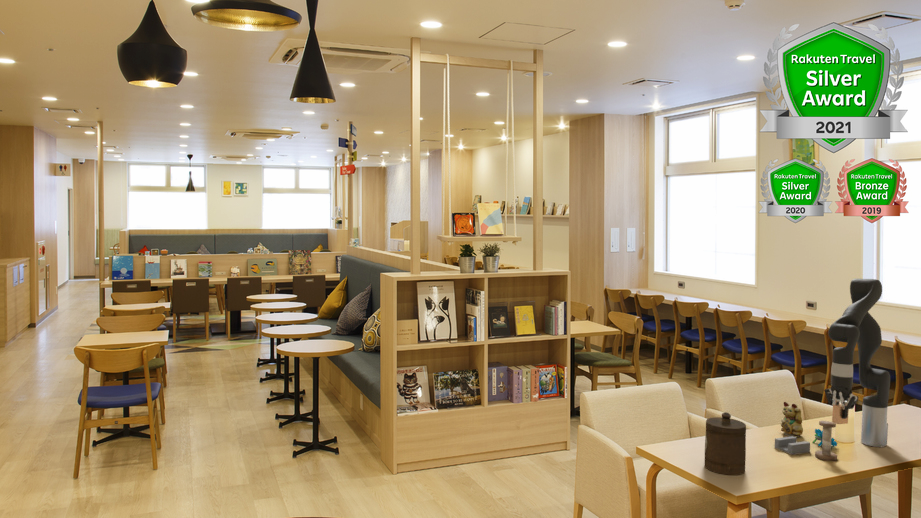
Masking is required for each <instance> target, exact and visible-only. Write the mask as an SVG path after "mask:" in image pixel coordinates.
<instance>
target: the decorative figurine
mask: <svg viewBox="0 0 921 518" xmlns="http://www.w3.org/2000/svg"><path fill="white" fill-rule="evenodd" d="M783 406H784V407H782V414H783V415H784V416H783V417H782V418H781V423H780V426H781V428H780V431H781V432H783V434H784V435H785V436H787V435H788V436H787V437H790V436H793V437H796V438H799V437H801V436H802V435H803V432H804V429H803V428H804V427H803V425H802V424H803V418H802V410H801V408H799V407H798V405H797V404H796V403H791V405H790V403H788V402H787V401H783Z"/></svg>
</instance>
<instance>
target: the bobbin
mask: <svg viewBox="0 0 921 518" xmlns="http://www.w3.org/2000/svg"><path fill="white" fill-rule="evenodd" d="M818 425H819V426H821V427H822V431H823V436H822V445H821V450H816V451H814V456H815V458H817V459H820V460H822V461H827V462H834V461H835V462H836V461H837V460H838V454H836V453H834V452H832V445H831V438H832V434H833V433H832V431H833V428H836V427H837V424H836V423H833V422H832V421H830V420H819V422H818Z"/></svg>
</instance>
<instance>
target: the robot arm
mask: <svg viewBox="0 0 921 518" xmlns="http://www.w3.org/2000/svg"><path fill="white" fill-rule="evenodd" d="M849 294H850V299H851V304H850V305H849V306H847V307H846V308H845V309H844V311H843V313H842V315H841V316H840V317H839V318H838V319H836V320H835V321H834V322H832V324H831V325H830V326H829V328H828V332H827V333H828V337H829V339H830V340H832V341H834V342H839V343H846V346H842V347H839V346H838V347H834V349H833V350H832V363H831V369H830V370H831V371H830V385H831V387H830V388H825V389H824V394H825V397H826V400H827V402H828V404H829V405H831V406H832V407H833V405H837V404H842V419H846V418H847V417H848V418H849V412H848V409H849V410H850V409H851V410H853V409H854V408H855V406H856V404H857V402H858V400H859V395H855V394H853V390H852V388H853V386H854V385H853V383H854V353H855V349H856V345H857V350H858V352H857V353H858V379H859V383H860V386H861V387H863V388H864V389H868V390H872V391H873V390H874V391H876V394H875V395H868V396H863V398H862V406H861V407H862V411H861V431H860V433H861V434H860V436H861V437H860V442H861V443H862V444H864V445H865V446H869V447H875V448H885V447H886V446H887V445H888V436H889V434H888V432H889V424H888V423H887V422H888V406H889V405H888V404H889V399H890V398H889V397H890V388H891V374H890V372H889V371H887V370H884V369H879V368H873V367H872V366H871V360H872V358H873V356H874V355H875V353H876V352H877V351H878V350H879V349H880V347H881V346H882V342H883V340H882V330H881V329H882V328H881V325H880V324H879V323H878V322H877V320H876V319H875V318H874V317H873V316H872V315H871V313H870V312H869V311H870V310H871V309H872V308H873V307H874V306H875V305H876V304H877V302H878V301H879V300H880V298H881V297H882V294H883V284H882V283H881V281H880V280H879V279H874V278H852V280H850V284H849Z"/></svg>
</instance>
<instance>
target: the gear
mask: <svg viewBox="0 0 921 518" xmlns="http://www.w3.org/2000/svg"><path fill="white" fill-rule="evenodd" d="M814 433H815V434H814V436H815V437H814V440H813V441H812V444H815V443H816V441H819V443H818V444H817V446H818V447H819V446H820V447H822V436H823V430H821V429H820V428H815V429H814ZM832 445H833V446H832ZM831 446H832V447H837V446H838V442H837V441H836V439H835V438H834V437H831Z"/></svg>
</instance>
